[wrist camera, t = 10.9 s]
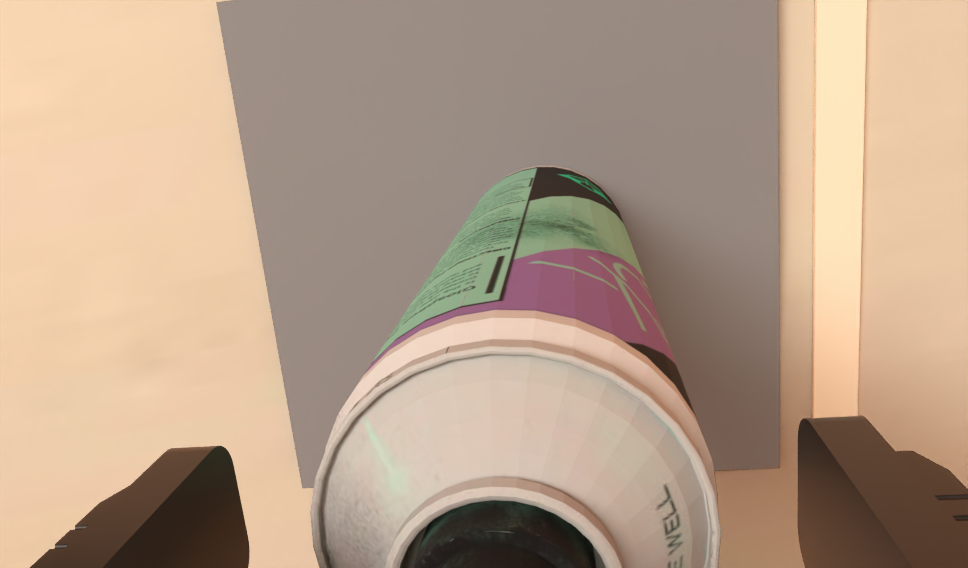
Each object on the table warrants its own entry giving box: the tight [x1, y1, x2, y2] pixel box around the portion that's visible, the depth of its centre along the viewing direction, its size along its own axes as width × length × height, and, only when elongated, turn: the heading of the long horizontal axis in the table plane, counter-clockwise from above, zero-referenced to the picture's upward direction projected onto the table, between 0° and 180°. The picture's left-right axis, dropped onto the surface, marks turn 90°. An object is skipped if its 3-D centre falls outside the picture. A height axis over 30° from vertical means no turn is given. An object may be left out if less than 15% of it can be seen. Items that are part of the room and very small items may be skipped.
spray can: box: [311, 165, 721, 568], centre depth 17 cm, size 6×6×20 cm
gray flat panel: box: [216, 0, 867, 488], centre depth 27 cm, size 21×18×1 cm
